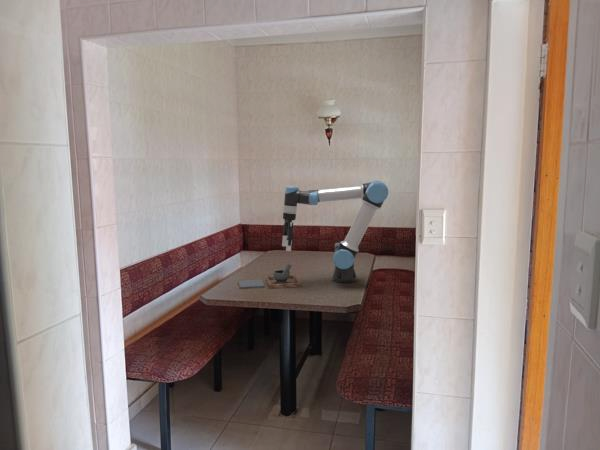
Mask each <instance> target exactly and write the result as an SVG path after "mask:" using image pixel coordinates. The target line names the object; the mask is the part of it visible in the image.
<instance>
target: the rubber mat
mask: <svg viewBox="0 0 600 450" xmlns="http://www.w3.org/2000/svg"><path fill="white" fill-rule="evenodd" d="M238 288H239V289H240V290H242V289H243V290H246V289H260V288H261V289H262V288H263V289H264V288H265V284H264V282H263V279H259V278H258V279H244V280H243V279H242V280H238Z"/></svg>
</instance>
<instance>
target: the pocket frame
mask: <svg viewBox="0 0 600 450" xmlns="http://www.w3.org/2000/svg"><path fill="white" fill-rule="evenodd" d="M292 279H293V280H294V282H291V283H288V282H287V283H286V284H277V283H273V284H272V283H271V281H272V280H274V281H277V280H276V279H275V278H274V275H266V276H264V281H265V283H266V285H267V287H268V289H269V290H270V289H284V288H285V289H286V288H301V287H302V286H303V285H302V282H301V280H300V279H299V277H298V276H297V275H296V274H290V275H289V278H288V279H287V280H292Z"/></svg>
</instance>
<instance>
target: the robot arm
mask: <svg viewBox="0 0 600 450" xmlns="http://www.w3.org/2000/svg"><path fill="white" fill-rule="evenodd" d="M284 192H285V193H284V203H283V206H282V209H283V213H282V219H283V220H284V224H283V227H282V231H281V232H282V240H281V241H282V243H281V247H285V251H286V252H291V251H292V242H293V239H294V222H293V221H296V219H297V214H296V213H297V209H298V204H299V205H300V204H302V205H309V206H317V205H318V204H319V203H325V202H334V201H347V200H357V199H361V201H362V204H361V206H360V208H359V210H358V212H357V213H356V216H355V218H354V220H353V222H352V224H351V226H350V228H349V231H348V232H347V235H345V238H344V240H342V241H340V242H336V243H334V254H333V257H332V261H333V264H334V270H333V272H332V274H331V275H332V276H331V280H332V281H333V282H335V283H344V284H345V283H346V284H347V283H348V282H350V283H355V282H356V281H358V276H357V273H356V270H355V259H356V258H357V255H358V253H359V251H360V249H359V245H360V244H361V242H362V239H363V237H364V236H365V234H366V232H367V230H368V228H369V226H370V224H371V222H372V219H374V218H373V217H374V216H375V214H376V212H377V210H380V209H381V207H382V206H383V204H384V202H385V201H386V200H387V198H388V197H389V188H388V186H387V185H386V184H385V183H384V182H383V181H380V180H374V181H372V182H371V181H370V182H367V183H366V182H364V183H361V184H360V185H355V186H354V185H353V186H352V185H351V186H344V187H343V186H342V187H334V188H333V187H331V188H324V189H323V188H322V189H309V190H300V188H299V187H298V186H295V185H287V186H286V187H285V191H284ZM354 281H355V282H354Z"/></svg>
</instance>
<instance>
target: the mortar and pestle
mask: <svg viewBox="0 0 600 450" xmlns="http://www.w3.org/2000/svg"><path fill="white" fill-rule="evenodd" d="M292 266H293V265H292V264H291V263H289V262H288V263H287V265H286V266H285V268H284V269H280V270H279V269H277V270H274V271H273V272H272V273H273V274H272V276H274V278H275V279H276V280H275V281H276V283H275V284H286V283H288V282H287V280H289V279H288V278H289V275H291V273H290V270H291V267H292Z"/></svg>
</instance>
